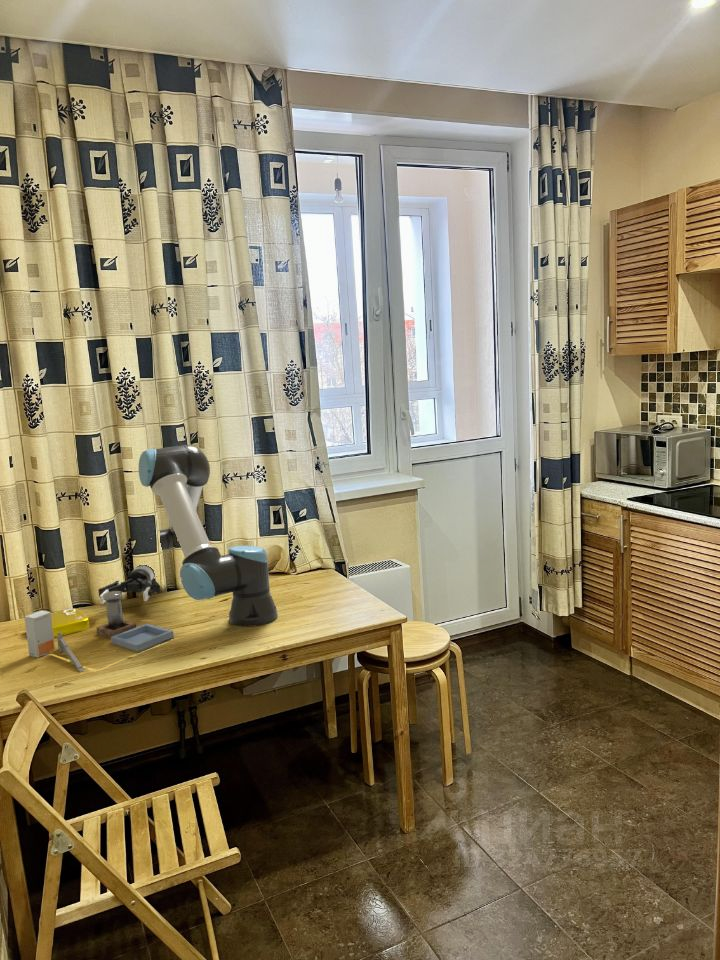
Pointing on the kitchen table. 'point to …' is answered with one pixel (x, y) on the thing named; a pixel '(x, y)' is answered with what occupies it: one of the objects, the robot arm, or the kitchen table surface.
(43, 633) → the skincare box
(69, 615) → the element tile
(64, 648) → the caliper
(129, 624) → the socket block
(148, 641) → the tray
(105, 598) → the blue-grey cylinder
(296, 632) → the kitchen table surface
